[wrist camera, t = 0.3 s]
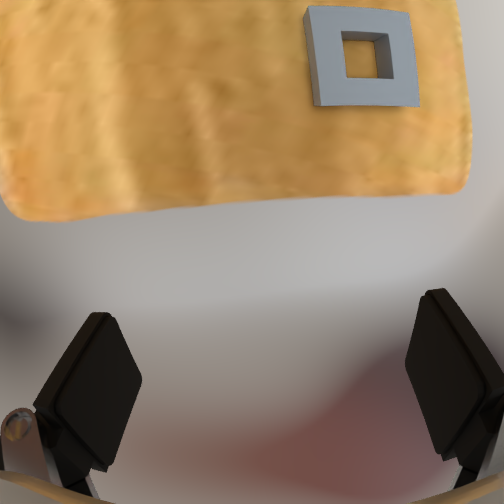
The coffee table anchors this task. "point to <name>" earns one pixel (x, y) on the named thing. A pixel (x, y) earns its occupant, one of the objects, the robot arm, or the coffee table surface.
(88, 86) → the coffee table surface
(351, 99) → the socket block
